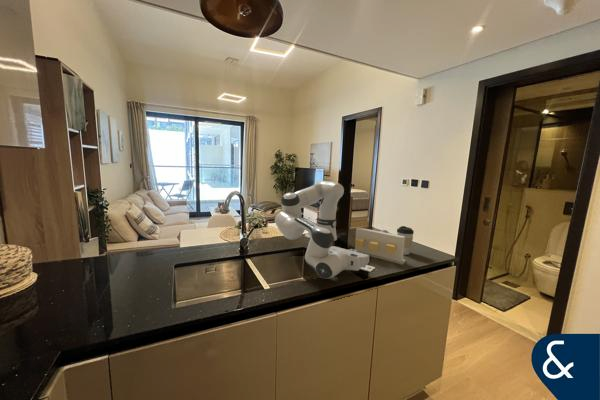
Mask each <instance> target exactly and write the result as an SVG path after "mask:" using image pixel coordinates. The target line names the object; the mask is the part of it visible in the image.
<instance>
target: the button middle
mask: <svg viewBox="0 0 600 400" xmlns="http://www.w3.org/2000/svg"><path fill="white" fill-rule="evenodd" d="M379 245H380V244H379V243H378V242H373V241H372V242H370V243H369V250H371V251H375V252H377V251H378V250H379Z"/></svg>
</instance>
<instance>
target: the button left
mask: <svg viewBox="0 0 600 400" xmlns="http://www.w3.org/2000/svg"><path fill="white" fill-rule="evenodd" d="M355 240H356V241H355V243H354V248H355V247H359V248H363V247H365V242H366V239H360V238H358V239H356V238H355Z"/></svg>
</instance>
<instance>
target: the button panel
mask: <svg viewBox="0 0 600 400" xmlns="http://www.w3.org/2000/svg"><path fill="white" fill-rule="evenodd" d="M358 238H360V239H365V240H366V242H365V247H363V248H359V247H355V246H354V248H353V249H354V250H357V252H359V253H363V254H367V255H369V257H372V258H376V259H380V260H383V261H388V262H392V263H395V264H397V265H398V264H399V265H402V266H403V265H404V264H405V263H406V259H404V255H403V252H404V240H405V236H400V235H397V234H394V233H390V232H389V233H384V232H380V230H379V231H378V230H375V229H374V230H373V229H369V228H365V227H364V228H363V227H356V228H355V241H356V239H358ZM372 241H373V242H380V244H379V250H378V251H377V252H375V251H371V250H369V243H370V242H372ZM388 243H389V244H393V245H396V253H394V254H390V253H386V245H387V244H388Z"/></svg>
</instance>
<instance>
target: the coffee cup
mask: <svg viewBox="0 0 600 400" xmlns="http://www.w3.org/2000/svg"><path fill="white" fill-rule="evenodd" d="M414 233H415V231H414V230H413V229H412V228H411V227H408V226H405V225H402V226H400V227H398V228H397V229H396V235H400V236H405V240H404V252H403V256H405V255H406V256H408V255H410V254H411V249H412V244H413V239H414Z"/></svg>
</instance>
